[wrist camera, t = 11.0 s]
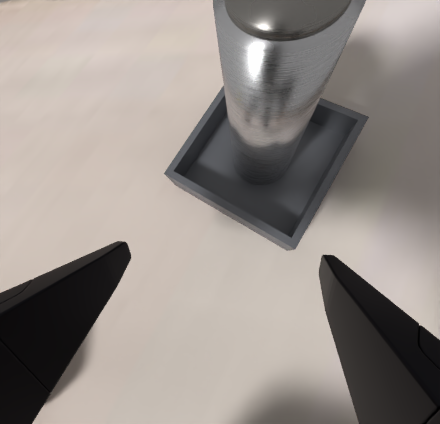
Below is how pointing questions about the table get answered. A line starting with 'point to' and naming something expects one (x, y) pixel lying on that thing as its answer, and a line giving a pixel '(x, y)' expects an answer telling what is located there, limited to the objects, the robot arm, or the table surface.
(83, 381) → the table surface
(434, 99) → the table surface
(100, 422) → the table surface
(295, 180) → the bin
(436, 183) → the table surface
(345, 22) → the cup
